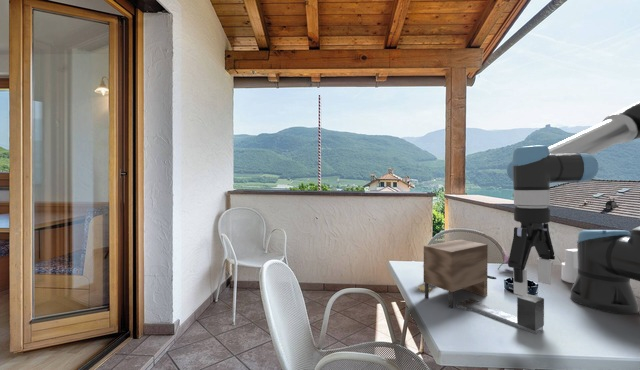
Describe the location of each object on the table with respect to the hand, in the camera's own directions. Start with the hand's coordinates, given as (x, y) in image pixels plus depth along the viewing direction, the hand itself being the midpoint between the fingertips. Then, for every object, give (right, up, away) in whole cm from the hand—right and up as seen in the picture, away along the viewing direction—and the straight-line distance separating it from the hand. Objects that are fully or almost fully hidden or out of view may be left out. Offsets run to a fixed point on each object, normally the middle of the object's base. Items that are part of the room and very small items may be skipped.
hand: (533, 288), depth 75 cm
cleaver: (+3, -11, +48) cm, 49 cm away
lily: (+26, -10, +49) cm, 57 cm away
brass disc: (-18, -10, +27) cm, 34 cm away
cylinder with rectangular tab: (+43, -10, +36) cm, 57 cm away
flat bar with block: (-5, -10, +7) cm, 13 cm away
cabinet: (-10, -10, +21) cm, 26 cm away
